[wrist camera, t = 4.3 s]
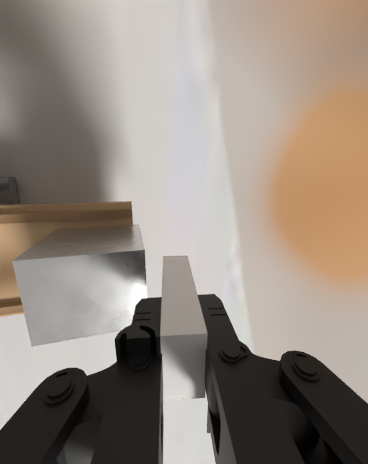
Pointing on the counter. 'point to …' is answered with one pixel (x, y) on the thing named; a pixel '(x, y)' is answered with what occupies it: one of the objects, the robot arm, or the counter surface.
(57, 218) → the balance beam
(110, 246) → the block
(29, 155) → the counter surface
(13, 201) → the balance stand
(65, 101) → the counter surface
